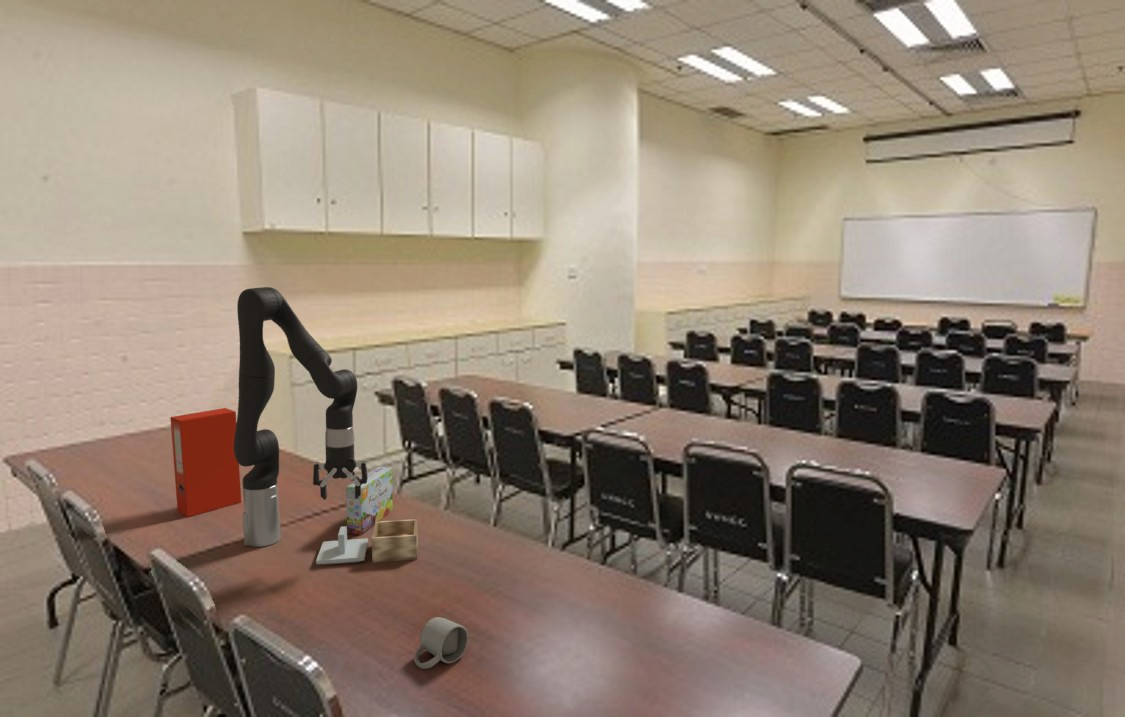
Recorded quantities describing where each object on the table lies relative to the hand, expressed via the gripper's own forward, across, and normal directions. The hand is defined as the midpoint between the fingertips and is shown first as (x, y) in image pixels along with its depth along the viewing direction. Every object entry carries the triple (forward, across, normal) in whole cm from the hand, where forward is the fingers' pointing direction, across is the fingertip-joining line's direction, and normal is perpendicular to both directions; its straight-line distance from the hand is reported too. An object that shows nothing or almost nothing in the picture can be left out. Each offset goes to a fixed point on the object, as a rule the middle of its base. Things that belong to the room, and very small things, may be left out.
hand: (341, 498), depth 187 cm
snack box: (+17, +6, +24) cm, 30 cm away
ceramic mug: (+16, +26, -54) cm, 62 cm away
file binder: (+19, -48, +45) cm, 68 cm away
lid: (+17, 0, -1) cm, 17 cm away
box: (+16, +15, 0) cm, 22 cm away
